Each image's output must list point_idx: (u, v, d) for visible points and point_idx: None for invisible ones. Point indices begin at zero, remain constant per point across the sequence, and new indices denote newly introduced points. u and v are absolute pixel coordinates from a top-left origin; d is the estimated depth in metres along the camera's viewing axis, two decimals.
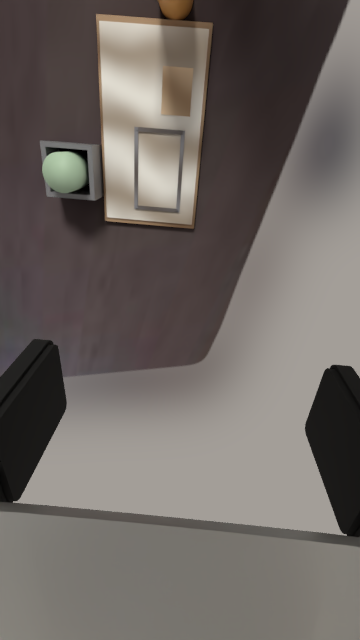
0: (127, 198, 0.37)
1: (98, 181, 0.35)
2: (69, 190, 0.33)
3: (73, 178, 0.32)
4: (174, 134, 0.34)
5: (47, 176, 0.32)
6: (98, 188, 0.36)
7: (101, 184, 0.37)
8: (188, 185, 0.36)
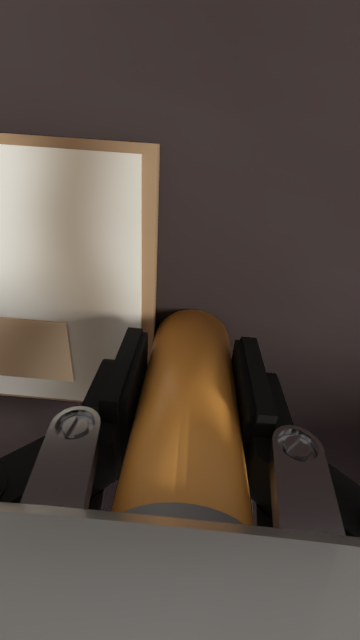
0: None
1: None
2: None
3: None
4: None
5: None
6: None
7: None
8: None
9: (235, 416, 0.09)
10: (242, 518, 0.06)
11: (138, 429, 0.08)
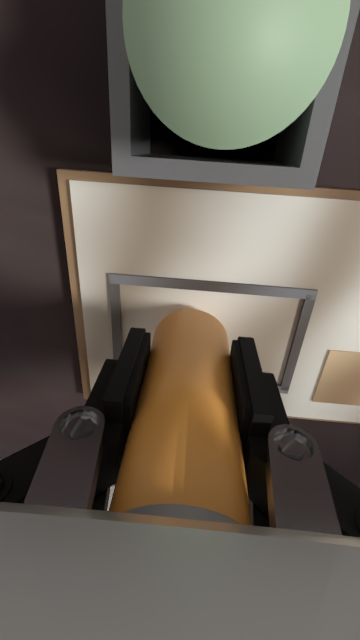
0: (135, 254, 0.12)
1: None
2: (141, 69, 0.06)
3: (203, 109, 0.06)
4: (283, 372, 0.15)
5: None
6: None
7: None
8: None
9: (234, 417, 0.09)
10: (240, 519, 0.06)
11: (136, 429, 0.08)
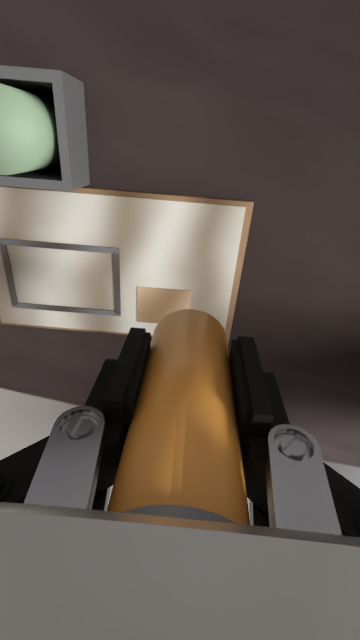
0: (12, 227, 0.22)
1: None
2: None
3: None
4: (115, 302, 0.24)
5: None
6: None
7: None
8: (54, 319, 0.25)
9: (232, 417, 0.09)
10: (238, 520, 0.06)
11: (134, 429, 0.08)
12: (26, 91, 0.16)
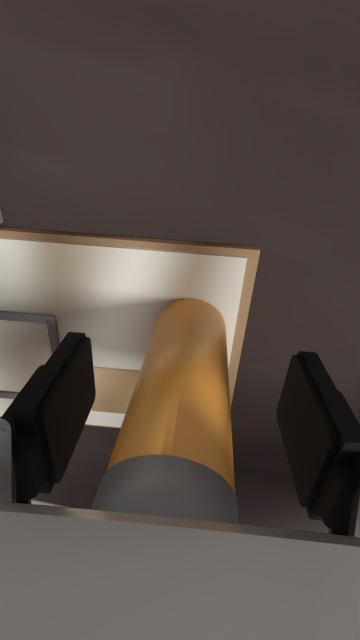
0: None
1: None
2: None
3: None
4: None
5: None
6: None
7: None
8: None
9: (224, 392, 0.10)
10: (222, 473, 0.07)
11: (134, 399, 0.09)
12: None
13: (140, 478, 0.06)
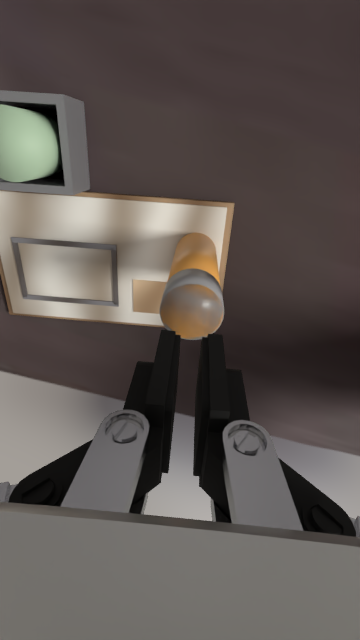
0: (23, 227, 0.25)
1: None
2: None
3: (5, 169, 0.18)
4: (113, 294, 0.27)
5: None
6: None
7: None
8: (59, 309, 0.28)
9: (216, 264, 0.20)
10: (215, 278, 0.17)
11: (174, 264, 0.19)
12: (35, 111, 0.19)
13: (184, 272, 0.17)
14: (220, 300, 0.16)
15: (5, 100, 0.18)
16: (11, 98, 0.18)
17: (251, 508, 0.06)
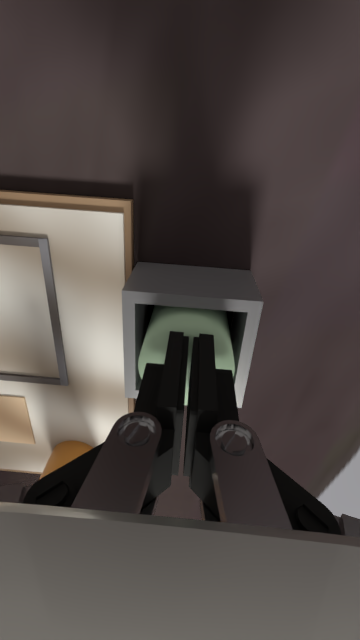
0: (69, 263, 0.15)
1: None
2: None
3: (154, 358, 0.12)
4: None
5: (224, 363, 0.12)
6: None
7: None
8: None
9: None
10: None
11: None
12: None
13: None
14: None
15: (243, 342, 0.13)
16: (244, 351, 0.13)
17: (235, 508, 0.06)
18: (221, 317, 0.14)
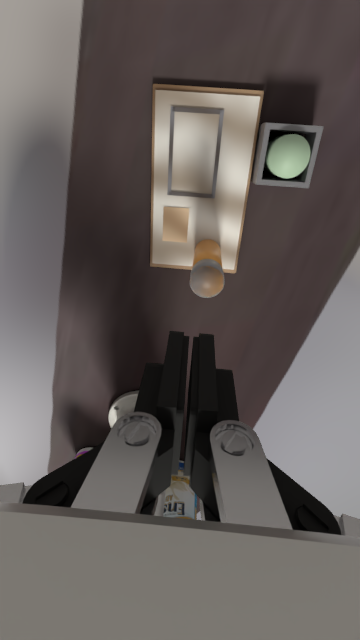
0: (231, 123, 0.32)
1: (259, 144, 0.32)
2: (286, 137, 0.30)
3: (277, 151, 0.30)
4: (177, 191, 0.36)
5: (306, 153, 0.30)
6: (261, 136, 0.32)
7: (258, 139, 0.33)
8: (161, 140, 0.33)
9: None
10: None
11: (218, 257, 0.33)
12: None
13: (223, 273, 0.31)
14: None
15: (313, 149, 0.31)
16: (313, 153, 0.31)
17: (235, 508, 0.06)
18: None
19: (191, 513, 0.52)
